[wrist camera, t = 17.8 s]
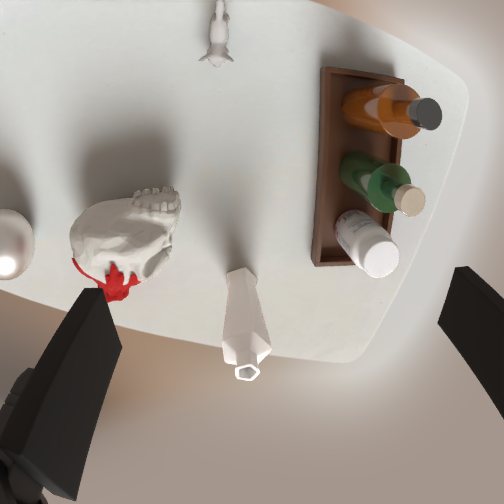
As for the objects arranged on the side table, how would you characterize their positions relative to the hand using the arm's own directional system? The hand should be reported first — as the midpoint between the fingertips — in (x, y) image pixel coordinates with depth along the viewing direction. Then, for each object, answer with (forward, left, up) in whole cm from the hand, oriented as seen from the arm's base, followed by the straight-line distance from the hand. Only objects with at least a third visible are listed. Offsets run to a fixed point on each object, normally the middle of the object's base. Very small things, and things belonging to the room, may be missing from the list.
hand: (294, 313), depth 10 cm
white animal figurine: (-15, -3, -25) cm, 29 cm away
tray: (-1, +12, -24) cm, 27 cm away
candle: (+6, -14, -25) cm, 29 cm away
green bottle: (-1, +12, -24) cm, 27 cm away
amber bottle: (-8, +12, -24) cm, 28 cm away
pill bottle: (+6, +12, -24) cm, 28 cm away
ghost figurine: (+5, -31, -25) cm, 40 cm away
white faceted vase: (+13, -1, -25) cm, 28 cm away
